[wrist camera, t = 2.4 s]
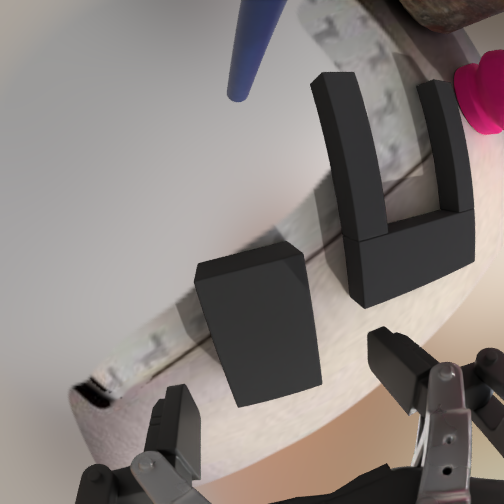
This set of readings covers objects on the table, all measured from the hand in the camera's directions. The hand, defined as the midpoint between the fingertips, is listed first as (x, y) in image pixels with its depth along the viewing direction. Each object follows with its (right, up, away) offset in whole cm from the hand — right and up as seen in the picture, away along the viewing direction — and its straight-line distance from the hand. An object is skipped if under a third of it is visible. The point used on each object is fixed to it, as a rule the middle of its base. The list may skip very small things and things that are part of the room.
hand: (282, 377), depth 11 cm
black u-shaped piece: (+8, +10, +5) cm, 14 cm away
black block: (-1, +1, +5) cm, 6 cm away
